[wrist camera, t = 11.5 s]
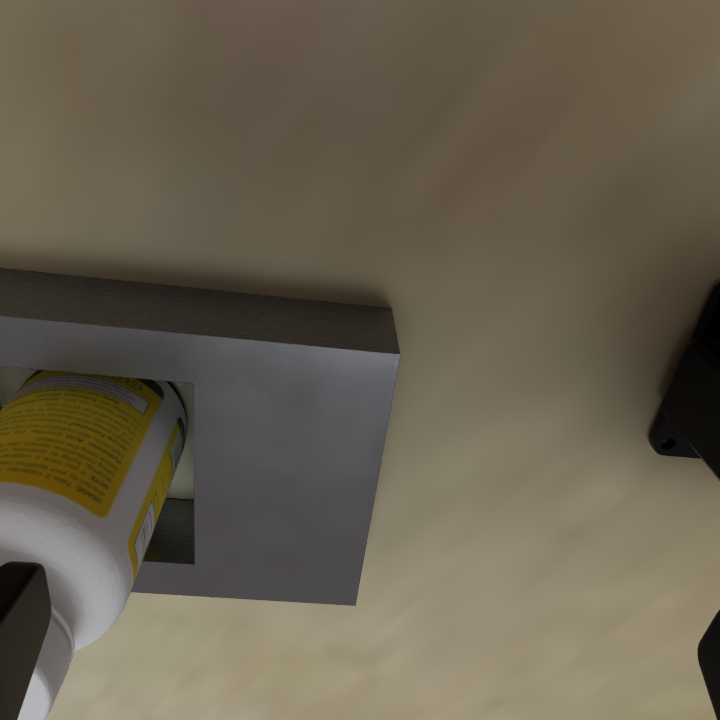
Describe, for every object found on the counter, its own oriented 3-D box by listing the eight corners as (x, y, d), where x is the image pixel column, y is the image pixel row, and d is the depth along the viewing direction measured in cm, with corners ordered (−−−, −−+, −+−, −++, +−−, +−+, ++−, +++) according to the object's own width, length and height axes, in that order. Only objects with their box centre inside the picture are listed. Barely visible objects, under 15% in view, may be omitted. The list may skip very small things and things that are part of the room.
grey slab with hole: (392, 308, 19) (400, 354, 17) (353, 541, 24) (355, 605, 21) (-227, 245, 18) (-326, 284, 15) (-136, 507, 22) (-199, 571, 20)
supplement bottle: (-8, 373, 20) (-270, 640, 11) (142, 323, 19) (-16, 569, 11) (80, 493, 22) (-80, 787, 14) (216, 454, 22) (136, 736, 13)
